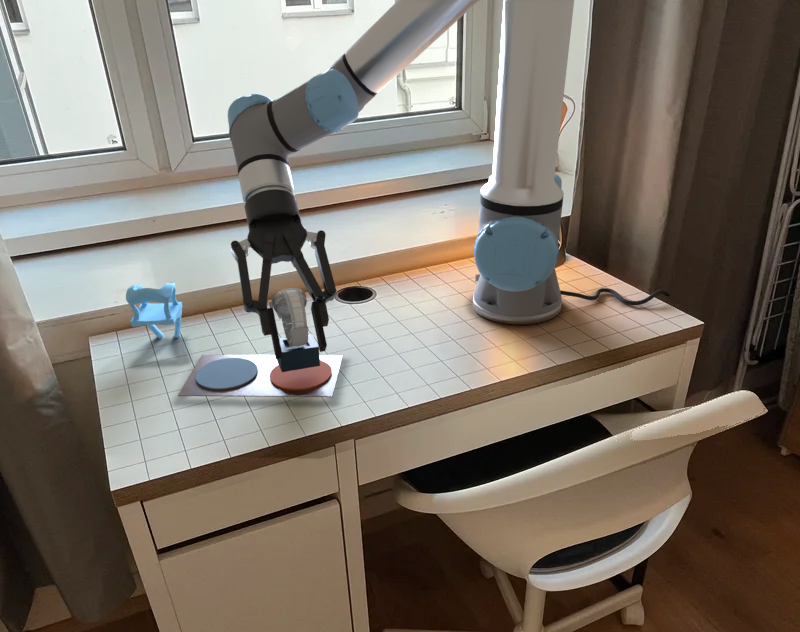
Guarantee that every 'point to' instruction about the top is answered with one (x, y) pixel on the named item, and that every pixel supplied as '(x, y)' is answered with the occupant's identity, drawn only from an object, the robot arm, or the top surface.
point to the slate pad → (226, 373)
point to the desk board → (262, 379)
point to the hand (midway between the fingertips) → (301, 351)
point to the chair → (155, 308)
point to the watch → (295, 331)
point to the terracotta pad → (301, 377)
